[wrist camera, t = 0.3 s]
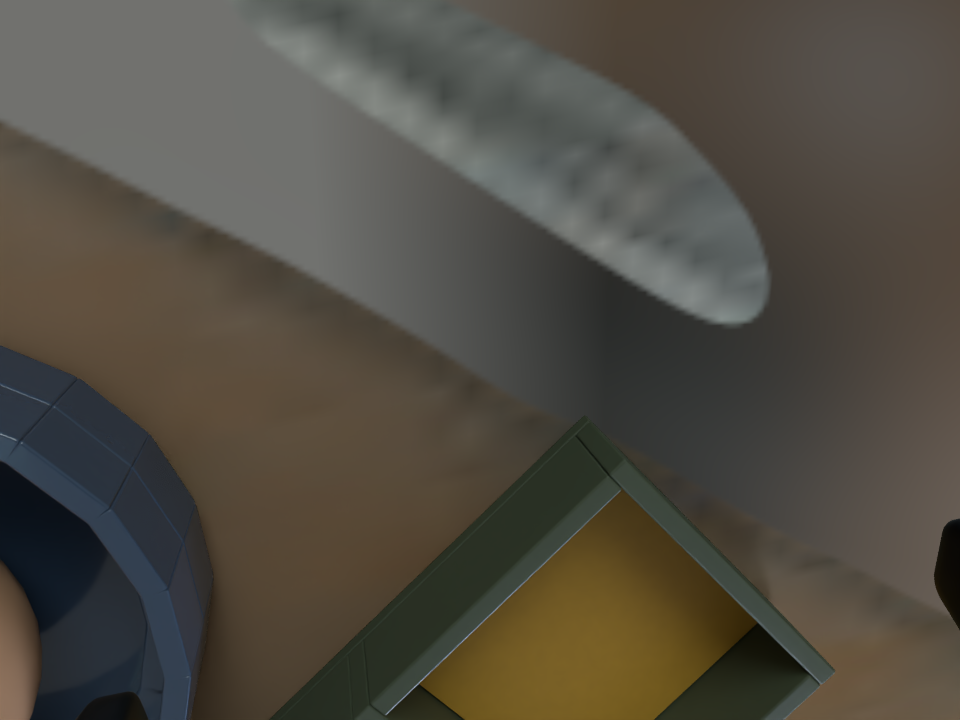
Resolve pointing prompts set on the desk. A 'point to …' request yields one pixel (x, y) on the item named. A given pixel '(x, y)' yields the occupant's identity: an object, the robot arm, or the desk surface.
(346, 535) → the desk surface
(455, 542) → the carton
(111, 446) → the bowl
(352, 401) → the desk surface
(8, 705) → the egg
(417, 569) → the desk surface
